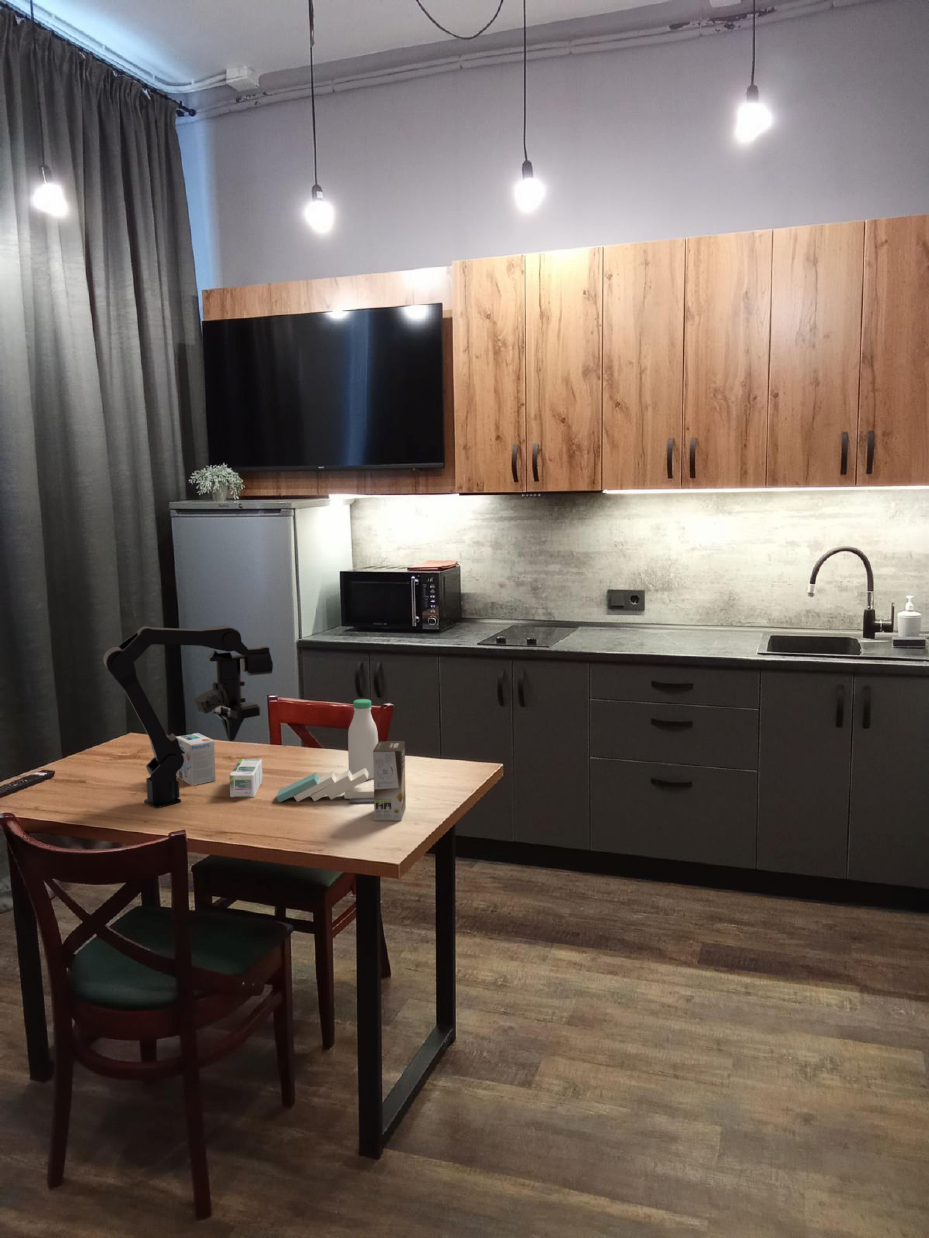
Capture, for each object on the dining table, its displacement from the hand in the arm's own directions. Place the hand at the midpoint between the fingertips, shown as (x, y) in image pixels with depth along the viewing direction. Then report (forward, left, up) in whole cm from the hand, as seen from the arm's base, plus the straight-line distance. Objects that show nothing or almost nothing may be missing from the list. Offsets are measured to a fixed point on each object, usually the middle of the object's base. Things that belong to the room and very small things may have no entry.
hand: (231, 740), depth 232 cm
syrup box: (+9, +6, -10) cm, 15 cm away
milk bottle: (+31, -12, -13) cm, 36 cm away
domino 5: (+17, -23, -12) cm, 31 cm away
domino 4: (+14, -20, -12) cm, 28 cm away
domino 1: (+5, -13, -12) cm, 18 cm away
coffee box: (+17, -40, -13) cm, 45 cm away
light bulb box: (-1, +17, -13) cm, 22 cm away
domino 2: (+8, -15, -12) cm, 21 cm away
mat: (+22, -27, -13) cm, 37 cm away
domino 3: (+11, -18, -12) cm, 25 cm away
